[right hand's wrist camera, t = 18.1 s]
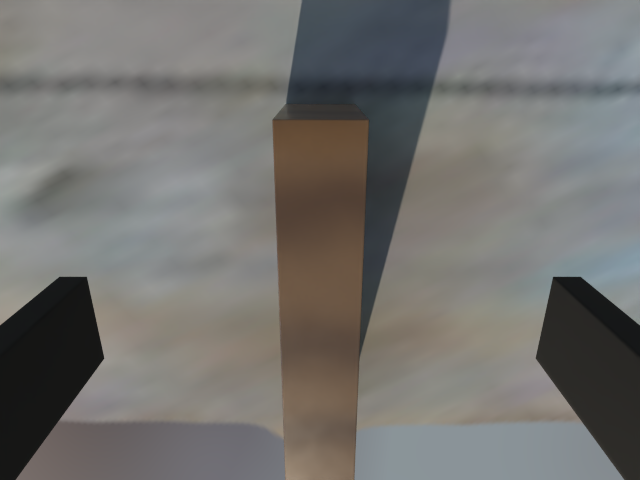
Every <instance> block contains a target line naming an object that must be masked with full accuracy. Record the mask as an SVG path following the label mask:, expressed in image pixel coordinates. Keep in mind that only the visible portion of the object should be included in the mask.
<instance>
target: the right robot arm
mask: <svg viewBox="0 0 640 480" xmlns="http://www.w3.org/2000/svg"><path fill="white" fill-rule="evenodd" d="M103 359H104V355H103V350H102V346H101V341H100V336H99V332H98V327H97V322H96V318H95V313H94V308H93V304H92V299H91V295H90V290H89V285H88V281H87V277H59V278H58V279H56V280H55V281H54V282H53V283H51V284H50V285H49V286H48V287H47V288H45V289H44V290H43V291H42V292H40V293H39V294H38V295H37V296H36V297H34V298H33V299H32V300H31V301H30V302H28V303H27V304H26V305H25V306H23V307H22V308H21V309H20V310H19V311H17V312H16V313H15V314H14V315H12V316H11V317H10V318H9V319H8V320H6V321H5V322H4V323H3V324H1V325H0V480H16V478H17V477H18V476H19V474H20V473H21V472H22V470H23V469H24V467H25V466H26V465H27V463H28V462H29V461H30V459H31V458H32V456H33V455H34V454H35V452H36V451H37V450H38V448H39V447H40V446H41V444H42V443H43V441H44V440H45V439H46V437H47V436H48V435H49V433H50V432H51V430H52V429H53V428H54V426H55V425H56V424H57V422H58V421H59V420H60V418H61V417H62V415H63V414H64V413H65V411H66V410H67V409H68V407H69V406H70V405H71V403H72V402H73V400H74V399H75V398H76V396H77V395H78V394H79V392H80V391H81V389H82V388H83V387H84V385H85V384H86V383H87V381H88V380H89V379H90V377H91V376H92V374H93V373H94V372H95V370H96V369H97V368H98V366H99V365H100V363H101V362H102V361H103ZM536 359H537V361H538V362H539V364H540V365H541V366H542V368H543V369H544V370H545V372H546V373H547V374H548V376H549V377H550V379H551V380H552V381H553V383H554V384H555V385H556V387H557V388H558V389H559V391H560V392H561V394H562V395H563V396H564V398H565V399H566V400H567V402H568V403H569V405H570V406H571V407H572V409H573V410H574V411H575V413H576V414H577V415H578V417H579V418H580V420H581V421H582V422H583V424H584V425H585V426H586V428H587V429H588V431H589V432H590V433H591V435H592V436H593V437H594V439H595V440H596V441H597V443H598V444H599V445H600V447H601V448H602V450H603V451H604V452H605V454H606V455H607V456H608V458H609V459H610V461H611V462H612V463H613V465H614V466H615V467H616V469H617V470H618V471H619V473H620V474H621V476H622V477H623V478H624V480H640V325H639V324H637V323H636V322H635V321H634V320H632V319H631V318H630V317H629V316H628V315H626V314H625V313H624V312H623V311H621V310H620V309H619V308H618V307H617V306H615V305H614V304H613V303H612V302H610V301H609V300H608V299H607V298H606V297H604V296H603V295H602V294H601V293H600V292H598V291H597V290H596V289H595V288H593V287H592V286H591V285H590V284H589V283H587V282H586V281H585V280H584V279H582V278H581V277H553V281H552V285H551V290H550V295H549V299H548V304H547V308H546V313H545V318H544V322H543V327H542V332H541V336H540V341H539V346H538V350H537V355H536Z"/></svg>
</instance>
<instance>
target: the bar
mask: <svg viewBox="0 0 640 480" xmlns="http://www.w3.org/2000/svg"><path fill="white" fill-rule="evenodd" d="M368 135H369V119H368V118H367V117H366V116H365V115H364V114H363V113H362V111H361V110H360V109H359V108H358V107H357V106H356V105H355V104H286V105H285V106H284V107H283V108H282V109H281V110H280V112H279V113H278V114H277V115H276V116H275V118H274V119H273V148H274V175H275V203H276V231H277V259H278V286H279V314H280V342H281V369H282V397H283V425H284V453H285V480H354V473H355V449H356V425H357V400H358V376H359V352H360V328H361V304H362V280H363V256H364V231H365V207H366V183H367V159H368Z"/></svg>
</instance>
